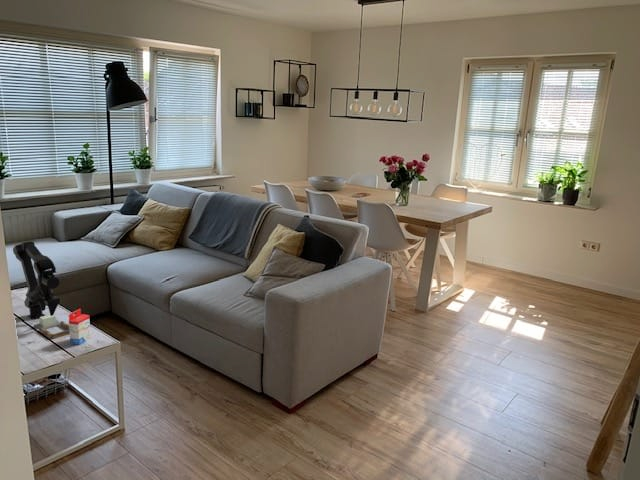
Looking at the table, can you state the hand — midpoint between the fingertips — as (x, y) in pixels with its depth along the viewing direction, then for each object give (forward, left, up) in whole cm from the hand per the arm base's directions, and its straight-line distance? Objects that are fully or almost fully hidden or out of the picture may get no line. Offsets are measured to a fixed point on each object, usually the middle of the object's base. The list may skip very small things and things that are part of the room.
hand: (47, 313), depth 246 cm
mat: (0, 0, -7) cm, 7 cm away
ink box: (+28, +3, -7) cm, 29 cm away
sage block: (0, 0, -6) cm, 6 cm away
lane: (+11, 0, -7) cm, 13 cm away
